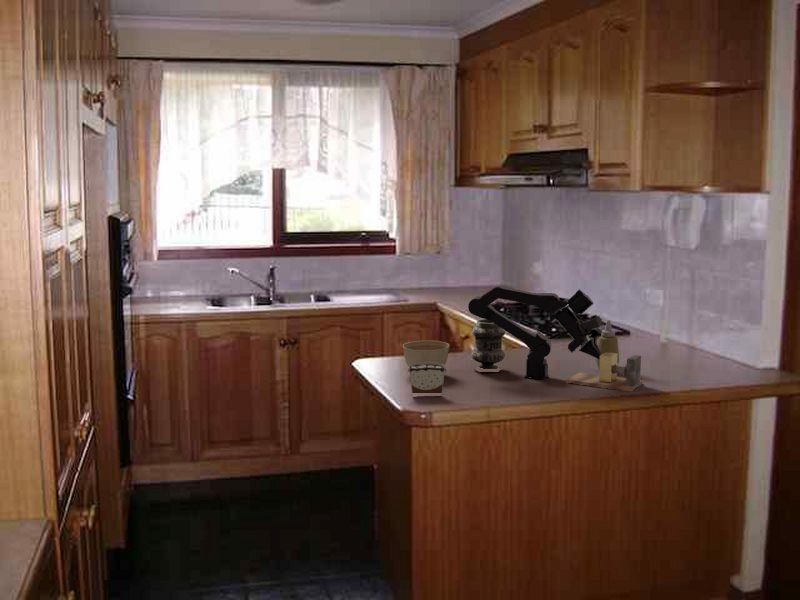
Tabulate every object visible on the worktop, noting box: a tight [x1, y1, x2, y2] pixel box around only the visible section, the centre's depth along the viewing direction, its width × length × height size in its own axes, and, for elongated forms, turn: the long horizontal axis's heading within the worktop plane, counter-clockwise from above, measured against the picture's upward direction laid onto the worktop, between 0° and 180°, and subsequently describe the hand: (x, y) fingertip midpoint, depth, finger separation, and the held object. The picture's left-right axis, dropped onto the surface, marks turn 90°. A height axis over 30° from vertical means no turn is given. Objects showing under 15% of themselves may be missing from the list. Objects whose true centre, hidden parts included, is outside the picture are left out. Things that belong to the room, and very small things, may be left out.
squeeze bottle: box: [595, 320, 620, 370], centre depth 304 cm, size 8×8×18 cm
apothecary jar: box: [470, 318, 506, 369], centre depth 307 cm, size 12×12×18 cm
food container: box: [407, 362, 448, 394], centre depth 275 cm, size 12×6×10 cm, turn 92°
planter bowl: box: [402, 340, 450, 368], centre depth 300 cm, size 16×16×11 cm
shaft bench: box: [565, 354, 643, 392], centre depth 287 cm, size 22×12×10 cm, turn 58°
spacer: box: [598, 352, 618, 382], centre depth 287 cm, size 4×6×9 cm, turn 148°
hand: (602, 358), depth 288 cm, fingers closed, pressing on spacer
